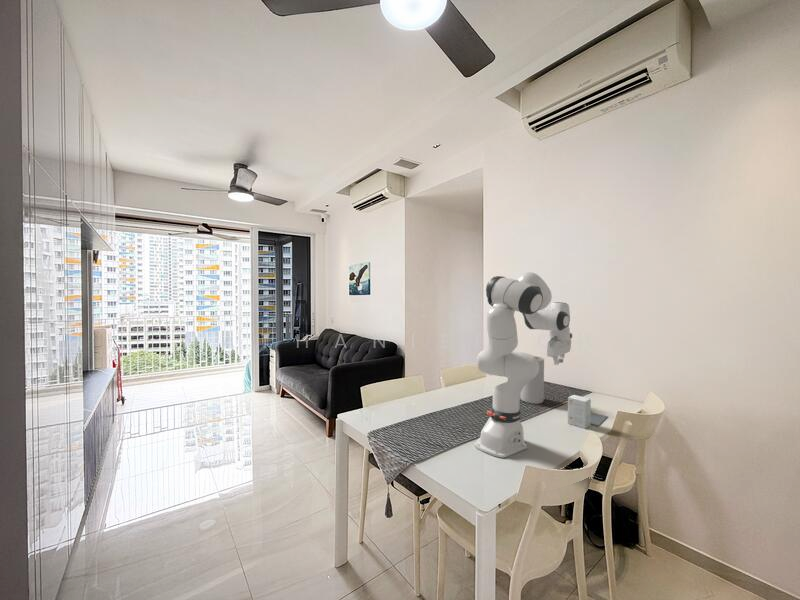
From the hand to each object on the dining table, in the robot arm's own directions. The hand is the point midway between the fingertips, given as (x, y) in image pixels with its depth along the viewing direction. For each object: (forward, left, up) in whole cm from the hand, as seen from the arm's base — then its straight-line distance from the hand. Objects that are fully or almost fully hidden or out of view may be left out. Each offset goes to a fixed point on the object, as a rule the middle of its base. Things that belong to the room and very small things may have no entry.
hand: (558, 363), depth 153 cm
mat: (+17, -11, -29) cm, 35 cm away
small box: (+5, -8, -29) cm, 31 cm away
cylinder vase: (+20, +22, -29) cm, 42 cm away
